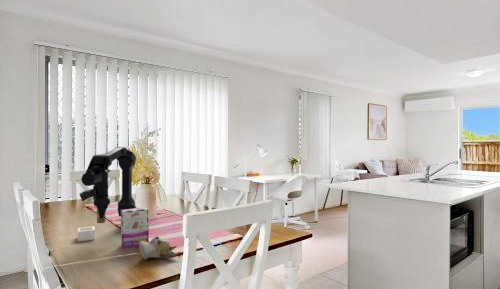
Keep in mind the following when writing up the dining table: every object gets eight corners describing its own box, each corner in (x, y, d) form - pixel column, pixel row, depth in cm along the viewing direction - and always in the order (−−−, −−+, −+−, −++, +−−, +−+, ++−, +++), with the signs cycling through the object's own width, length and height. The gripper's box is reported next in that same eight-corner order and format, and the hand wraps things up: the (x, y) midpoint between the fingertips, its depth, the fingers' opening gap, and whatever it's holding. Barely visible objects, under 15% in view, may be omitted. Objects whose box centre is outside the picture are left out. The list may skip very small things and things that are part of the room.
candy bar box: (147, 242, 141) (147, 206, 141) (148, 245, 137) (148, 208, 137) (120, 246, 136) (120, 209, 136) (121, 249, 132) (121, 211, 131)
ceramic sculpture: (139, 233, 126) (177, 232, 131) (138, 254, 126) (175, 252, 131) (138, 241, 116) (179, 240, 120) (136, 264, 116) (177, 262, 120)
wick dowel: (104, 220, 141) (105, 201, 141) (105, 222, 138) (105, 202, 138) (96, 221, 140) (96, 202, 140) (96, 223, 137) (97, 203, 137)
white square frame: (94, 235, 150) (94, 226, 150) (94, 239, 144) (94, 229, 144) (78, 237, 147) (78, 228, 147) (77, 241, 141) (77, 231, 141)
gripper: (81, 181, 143) (81, 215, 143) (80, 186, 127) (80, 224, 127) (107, 180, 149) (107, 212, 149) (110, 185, 132) (109, 221, 132)
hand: (101, 217), depth 139 cm, fingers closed on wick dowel, 3 cm apart
